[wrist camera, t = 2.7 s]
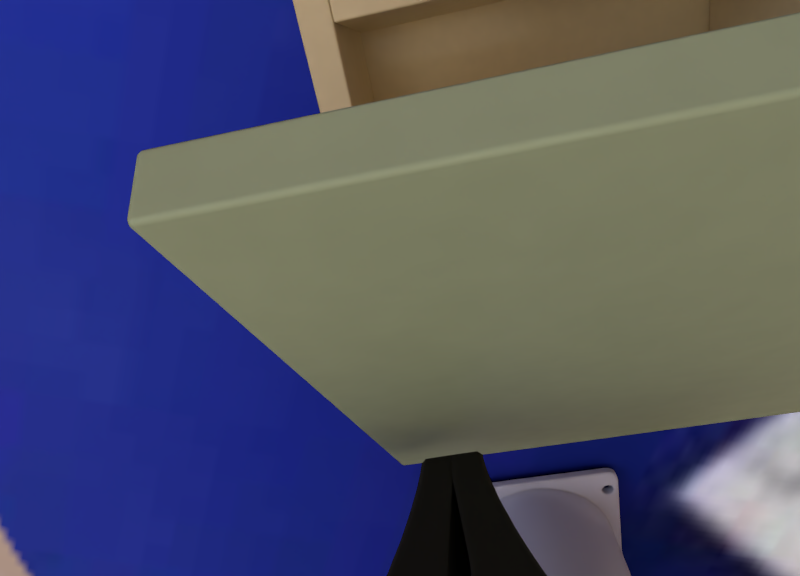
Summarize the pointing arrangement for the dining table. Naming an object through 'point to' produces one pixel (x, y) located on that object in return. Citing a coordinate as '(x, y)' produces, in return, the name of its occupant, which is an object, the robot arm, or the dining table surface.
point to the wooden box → (486, 38)
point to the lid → (517, 245)
